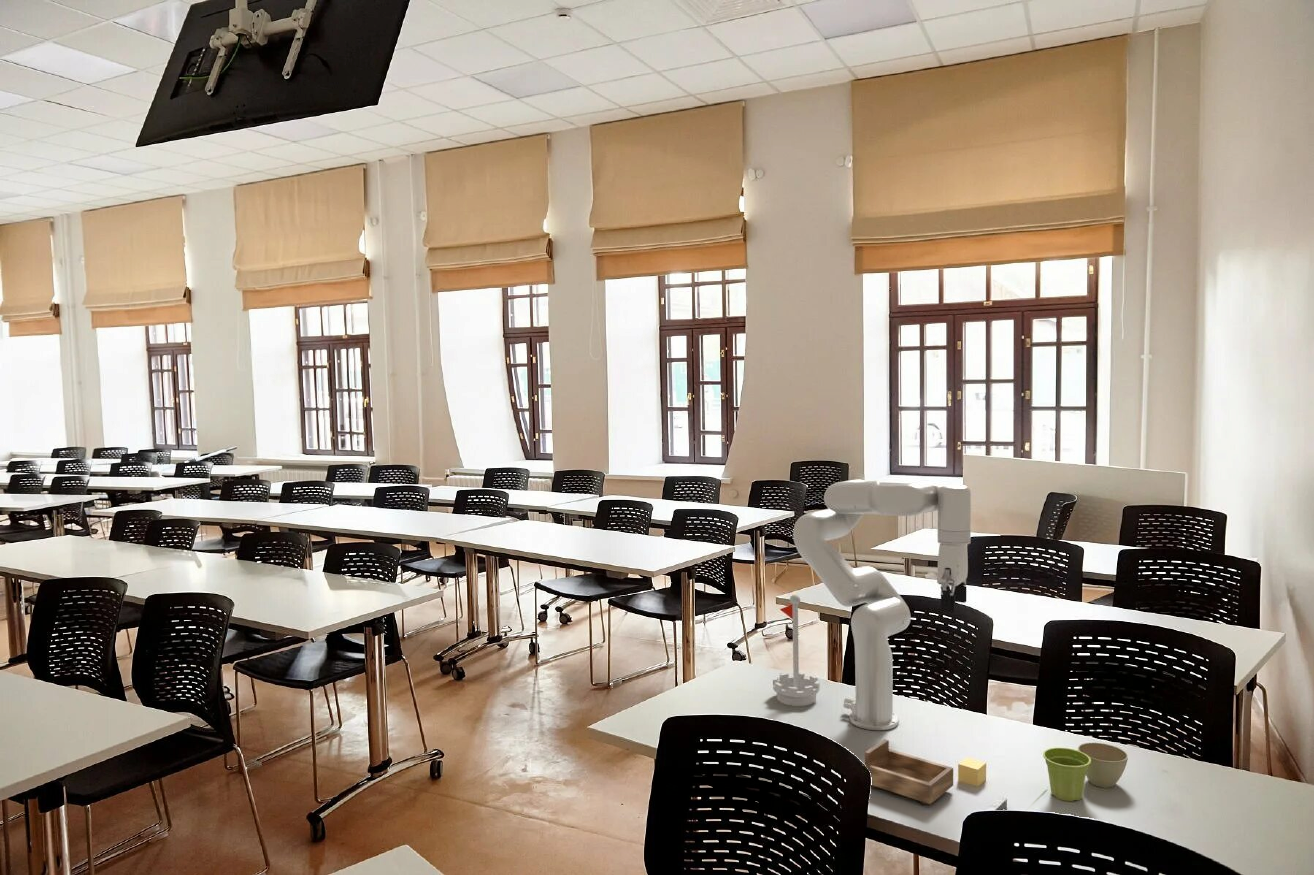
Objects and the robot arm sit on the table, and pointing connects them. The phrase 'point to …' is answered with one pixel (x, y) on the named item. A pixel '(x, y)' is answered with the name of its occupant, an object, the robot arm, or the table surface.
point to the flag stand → (795, 670)
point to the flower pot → (1104, 763)
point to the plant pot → (1066, 772)
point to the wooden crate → (907, 773)
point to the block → (972, 771)
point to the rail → (999, 804)
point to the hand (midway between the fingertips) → (953, 606)
